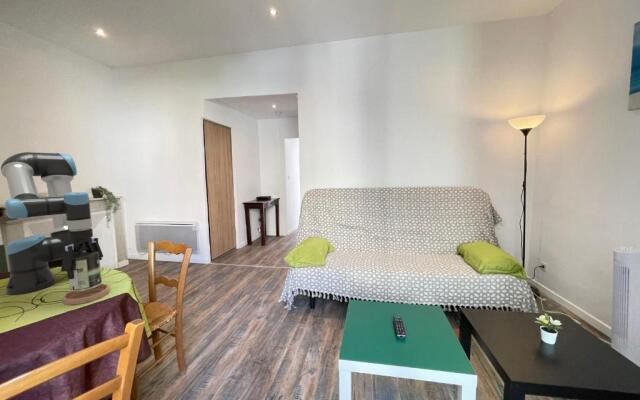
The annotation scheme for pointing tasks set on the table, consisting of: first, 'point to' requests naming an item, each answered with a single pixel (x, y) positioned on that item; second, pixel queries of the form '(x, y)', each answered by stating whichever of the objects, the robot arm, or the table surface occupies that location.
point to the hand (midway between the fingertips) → (85, 280)
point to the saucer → (85, 295)
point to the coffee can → (87, 271)
